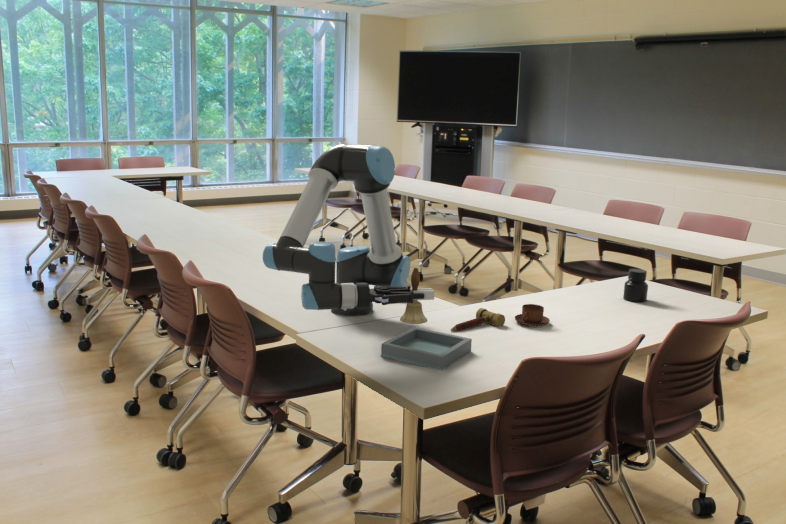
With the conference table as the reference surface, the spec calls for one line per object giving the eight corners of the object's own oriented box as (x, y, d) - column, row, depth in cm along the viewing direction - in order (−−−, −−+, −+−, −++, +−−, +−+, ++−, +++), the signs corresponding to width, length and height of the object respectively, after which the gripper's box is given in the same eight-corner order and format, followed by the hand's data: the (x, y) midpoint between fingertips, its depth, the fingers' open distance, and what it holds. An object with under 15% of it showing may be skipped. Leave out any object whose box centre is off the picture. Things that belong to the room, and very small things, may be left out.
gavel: (461, 327, 231) (440, 319, 238) (461, 340, 232) (440, 332, 239) (505, 313, 243) (484, 306, 251) (505, 326, 244) (484, 318, 252)
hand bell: (395, 317, 214) (397, 265, 210) (420, 315, 217) (423, 264, 213) (406, 325, 206) (408, 272, 203) (431, 323, 209) (434, 270, 206)
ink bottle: (637, 296, 289) (641, 267, 287) (651, 302, 281) (655, 272, 279) (617, 297, 286) (620, 268, 284) (631, 303, 278) (634, 273, 275)
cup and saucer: (546, 331, 240) (548, 313, 238) (511, 326, 244) (512, 309, 242) (551, 321, 251) (552, 304, 250) (517, 317, 255) (518, 300, 253)
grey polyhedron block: (413, 301, 272) (417, 279, 276) (397, 293, 267) (401, 270, 271) (398, 305, 278) (402, 282, 282) (383, 297, 273) (387, 274, 277)
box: (413, 338, 226) (414, 326, 225) (470, 351, 216) (471, 338, 216) (381, 356, 209) (381, 343, 209) (441, 370, 200) (442, 357, 199)
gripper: (350, 301, 214) (425, 299, 219) (359, 315, 200) (439, 312, 205) (351, 277, 212) (427, 275, 217) (359, 289, 198) (440, 287, 203)
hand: (432, 293), depth 211 cm, fingers closed on hand bell, 2 cm apart
